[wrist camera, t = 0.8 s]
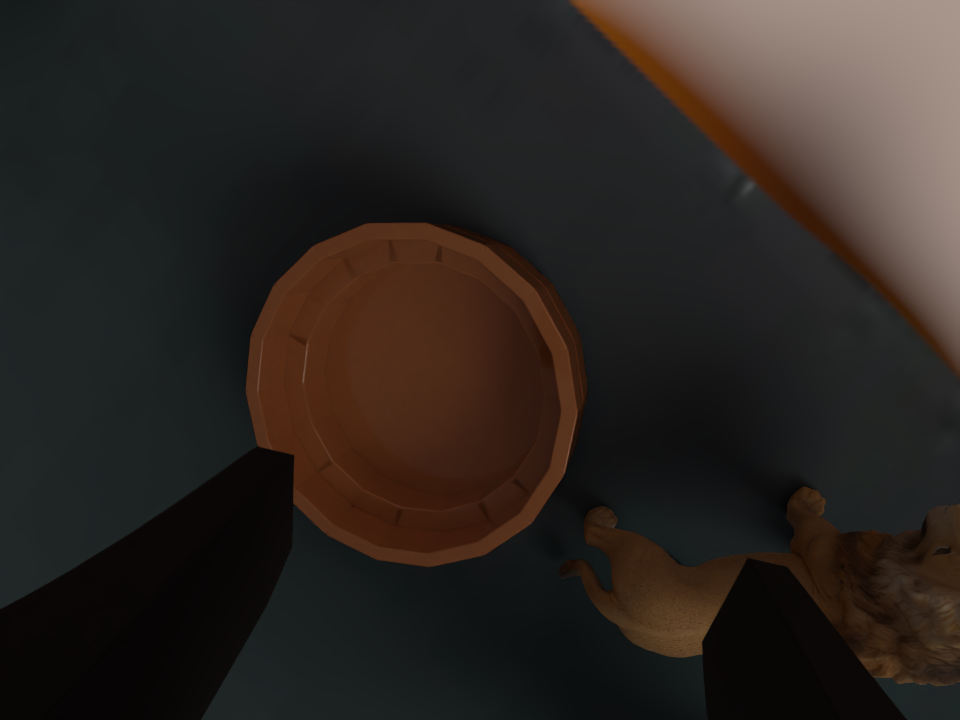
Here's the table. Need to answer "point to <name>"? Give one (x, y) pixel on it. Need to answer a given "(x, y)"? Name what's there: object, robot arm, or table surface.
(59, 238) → the table surface
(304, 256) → the bowl
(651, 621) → the lion figurine
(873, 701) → the robot arm
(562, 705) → the table surface
